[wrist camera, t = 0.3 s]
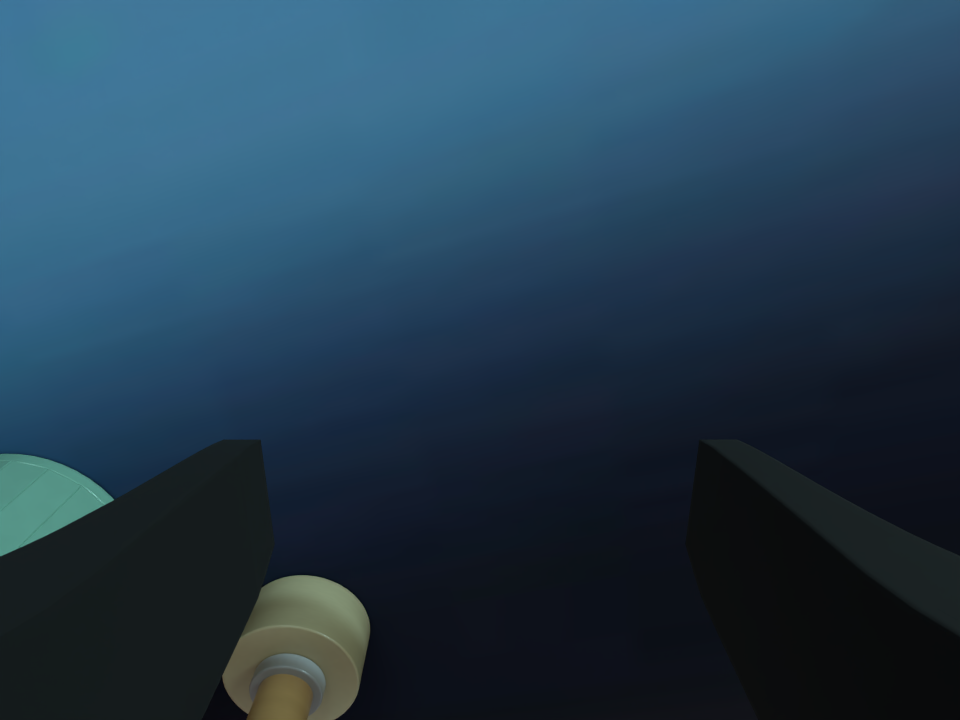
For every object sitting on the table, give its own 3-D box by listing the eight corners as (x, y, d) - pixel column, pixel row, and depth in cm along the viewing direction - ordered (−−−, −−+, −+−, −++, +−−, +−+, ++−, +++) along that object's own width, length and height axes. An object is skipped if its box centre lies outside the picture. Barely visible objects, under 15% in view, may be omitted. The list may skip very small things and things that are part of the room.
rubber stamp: (376, 669, 25) (337, 886, 18) (256, 673, 26) (172, 891, 19) (363, 572, 24) (315, 770, 17) (235, 576, 24) (134, 775, 17)
